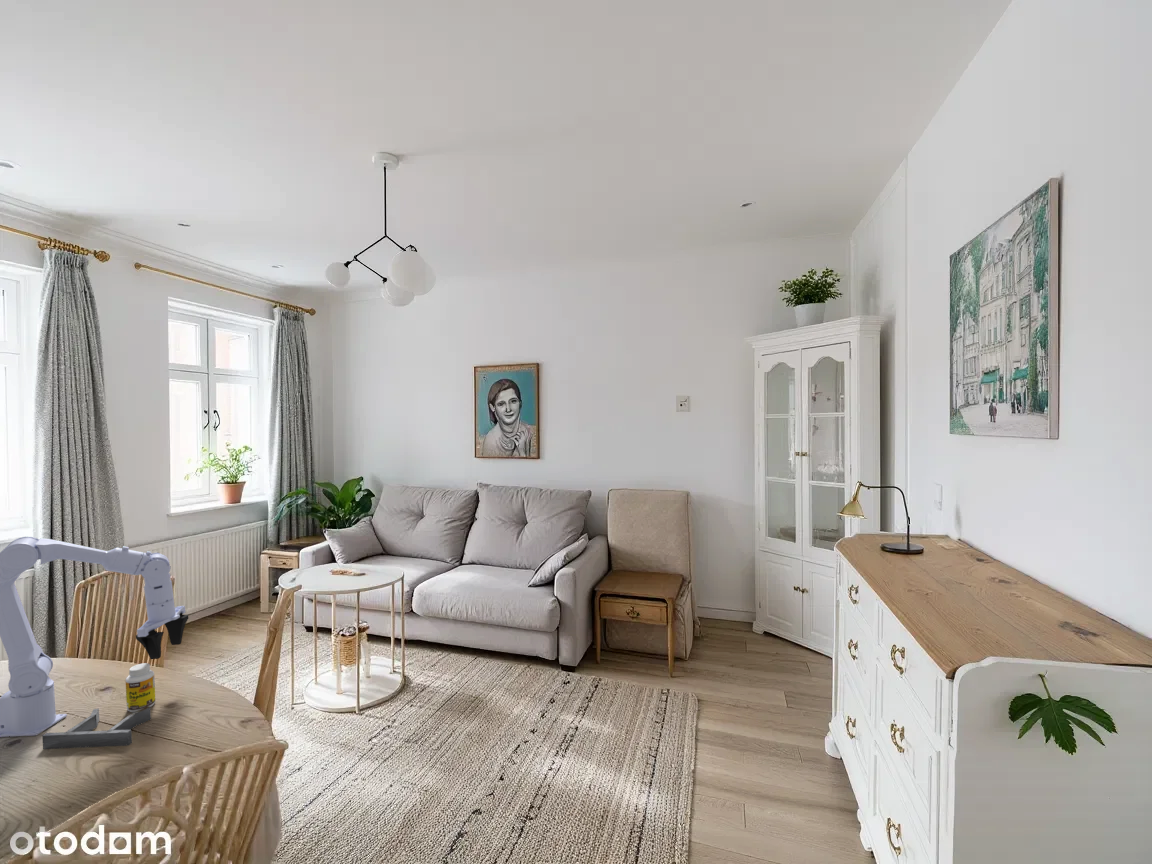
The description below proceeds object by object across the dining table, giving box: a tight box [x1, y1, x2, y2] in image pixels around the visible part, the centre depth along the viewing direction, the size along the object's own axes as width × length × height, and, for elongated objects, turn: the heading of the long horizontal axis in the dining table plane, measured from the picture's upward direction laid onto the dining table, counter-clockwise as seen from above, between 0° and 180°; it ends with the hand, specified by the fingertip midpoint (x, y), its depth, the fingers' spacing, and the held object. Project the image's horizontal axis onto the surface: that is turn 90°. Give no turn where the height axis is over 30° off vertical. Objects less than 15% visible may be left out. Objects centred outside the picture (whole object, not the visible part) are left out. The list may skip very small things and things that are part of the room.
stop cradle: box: [41, 706, 152, 750], centre depth 123 cm, size 18×10×3 cm, turn 93°
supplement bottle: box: [125, 662, 156, 713], centre depth 133 cm, size 6×6×10 cm
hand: (166, 651), depth 141 cm, fingers open, 7 cm apart
